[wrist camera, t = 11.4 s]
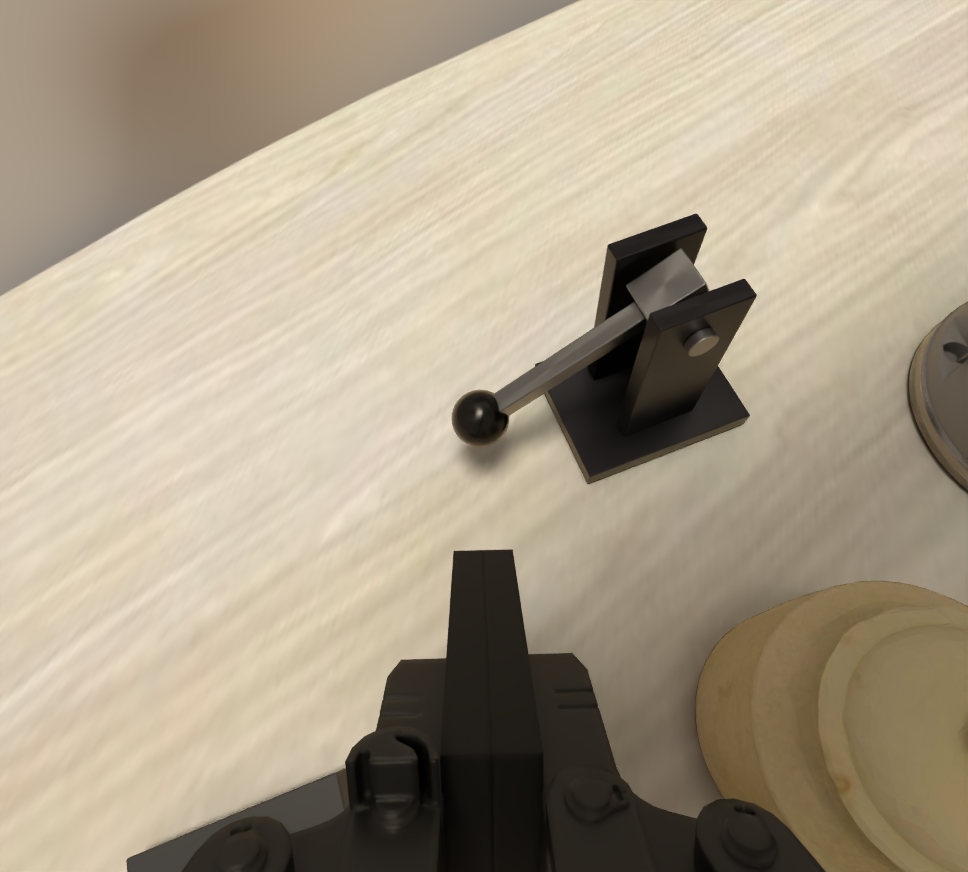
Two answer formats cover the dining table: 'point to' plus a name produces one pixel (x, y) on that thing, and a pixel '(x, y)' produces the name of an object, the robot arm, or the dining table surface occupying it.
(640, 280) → the lever
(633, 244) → the bracket
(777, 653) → the sugar bowl
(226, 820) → the button block
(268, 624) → the dining table surface
